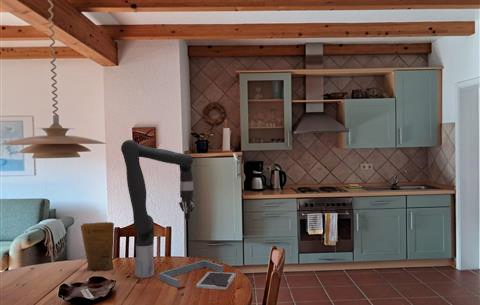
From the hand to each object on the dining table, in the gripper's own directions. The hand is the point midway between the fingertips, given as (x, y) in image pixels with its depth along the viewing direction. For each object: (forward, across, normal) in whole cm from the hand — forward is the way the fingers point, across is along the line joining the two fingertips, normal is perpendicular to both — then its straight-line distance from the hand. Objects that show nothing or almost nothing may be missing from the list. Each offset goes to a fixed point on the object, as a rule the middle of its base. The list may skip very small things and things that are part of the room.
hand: (187, 219), depth 220 cm
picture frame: (+30, +26, -1) cm, 40 cm away
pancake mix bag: (+29, -39, -35) cm, 60 cm away
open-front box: (+29, +10, -5) cm, 31 cm away
